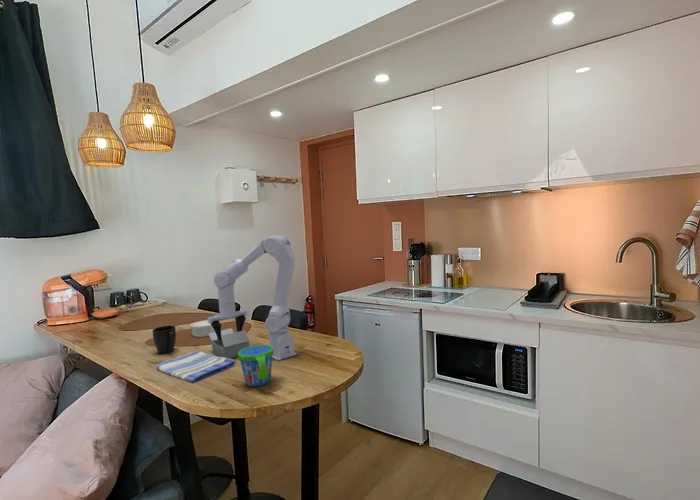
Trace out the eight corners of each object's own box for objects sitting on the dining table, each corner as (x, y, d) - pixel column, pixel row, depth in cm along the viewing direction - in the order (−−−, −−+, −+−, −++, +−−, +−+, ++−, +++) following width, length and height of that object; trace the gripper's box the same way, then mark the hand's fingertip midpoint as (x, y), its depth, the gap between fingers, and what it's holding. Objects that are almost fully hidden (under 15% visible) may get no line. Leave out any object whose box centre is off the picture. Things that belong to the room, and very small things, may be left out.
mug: (162, 358, 139) (160, 334, 138) (151, 352, 148) (149, 329, 147) (184, 352, 145) (182, 328, 144) (172, 346, 153) (170, 324, 153)
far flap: (231, 328, 151) (231, 329, 152) (208, 333, 145) (208, 334, 146) (235, 334, 149) (235, 335, 149) (212, 340, 143) (212, 341, 143)
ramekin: (218, 335, 167) (217, 323, 167) (191, 339, 162) (190, 328, 162) (215, 329, 177) (214, 318, 177) (190, 333, 173) (189, 322, 172)
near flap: (248, 341, 139) (249, 340, 139) (224, 347, 133) (224, 347, 133) (245, 330, 140) (245, 329, 140) (220, 336, 134) (221, 335, 134)
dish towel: (200, 355, 142) (199, 348, 142) (238, 366, 128) (237, 358, 128) (154, 371, 128) (153, 363, 128) (191, 385, 114) (191, 376, 114)
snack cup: (238, 376, 118) (235, 345, 117) (271, 370, 122) (269, 340, 121) (242, 396, 104) (240, 361, 103) (280, 388, 107) (277, 354, 107)
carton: (250, 353, 140) (249, 341, 139) (224, 360, 133) (223, 348, 133) (237, 346, 149) (236, 335, 149) (212, 353, 143) (211, 341, 142)
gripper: (240, 298, 148) (243, 331, 149) (203, 304, 139) (206, 340, 139) (248, 300, 142) (250, 334, 143) (210, 307, 133) (213, 344, 134)
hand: (229, 337), depth 141 cm, fingers open, 7 cm apart
